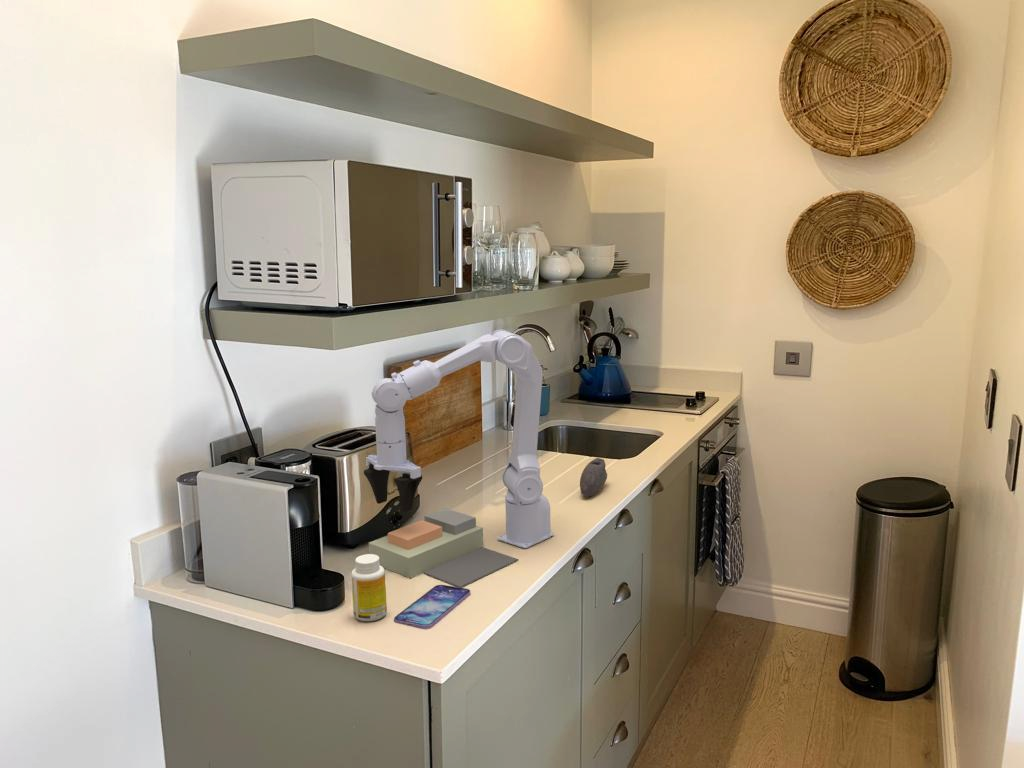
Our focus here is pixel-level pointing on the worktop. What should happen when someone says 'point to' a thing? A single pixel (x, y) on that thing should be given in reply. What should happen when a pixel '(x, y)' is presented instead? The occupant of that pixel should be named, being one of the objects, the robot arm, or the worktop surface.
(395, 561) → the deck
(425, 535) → the peach rectangular tile
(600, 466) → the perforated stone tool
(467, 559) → the mat
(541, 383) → the robot arm
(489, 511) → the worktop surface
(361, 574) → the supplement bottle
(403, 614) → the smartphone
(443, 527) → the slate gray rectangular block
